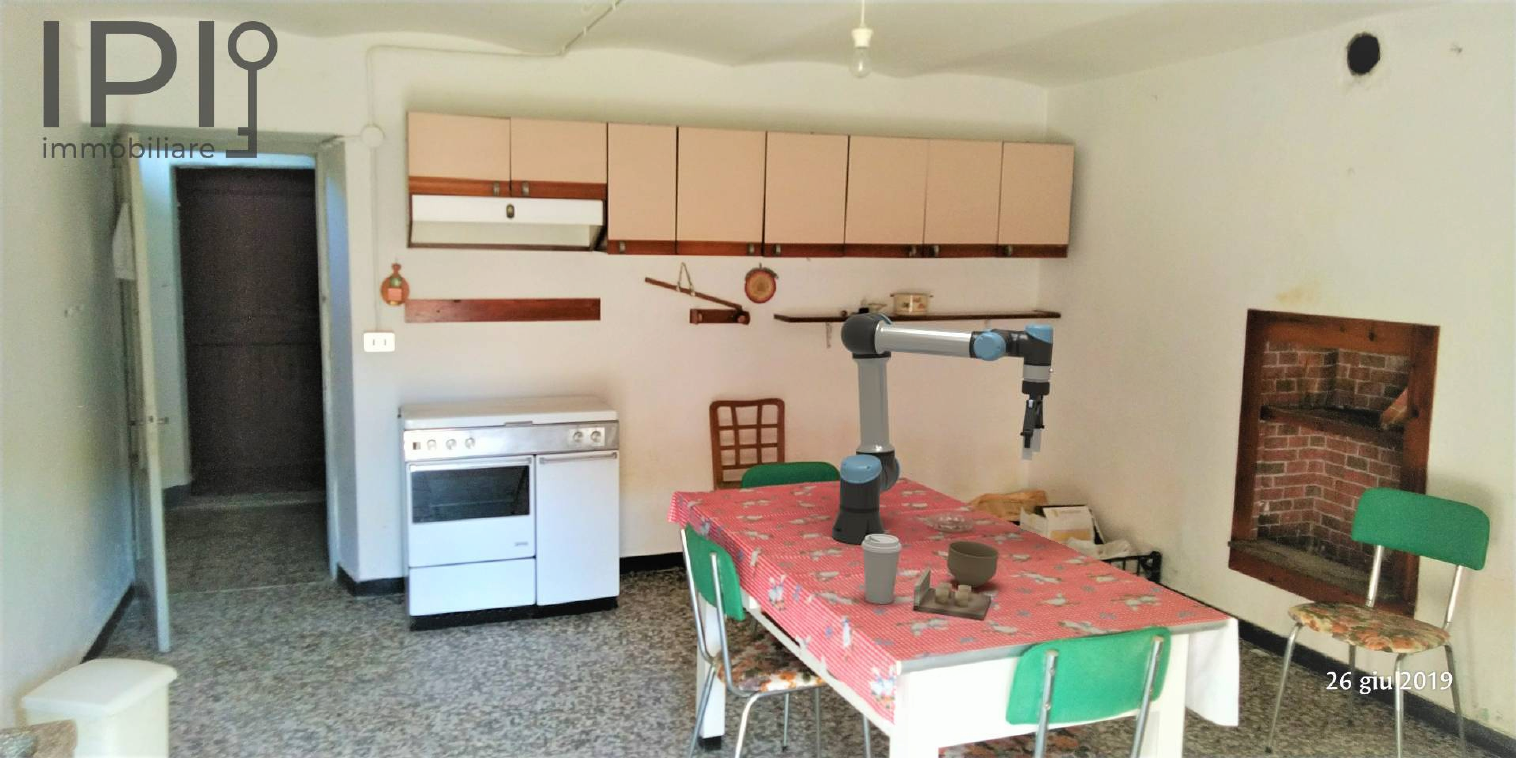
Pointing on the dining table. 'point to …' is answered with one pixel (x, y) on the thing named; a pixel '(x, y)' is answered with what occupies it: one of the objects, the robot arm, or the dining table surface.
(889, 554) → the coffee cup
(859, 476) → the robot arm
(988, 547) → the bowl
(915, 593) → the peg stand
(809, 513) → the dining table surface
